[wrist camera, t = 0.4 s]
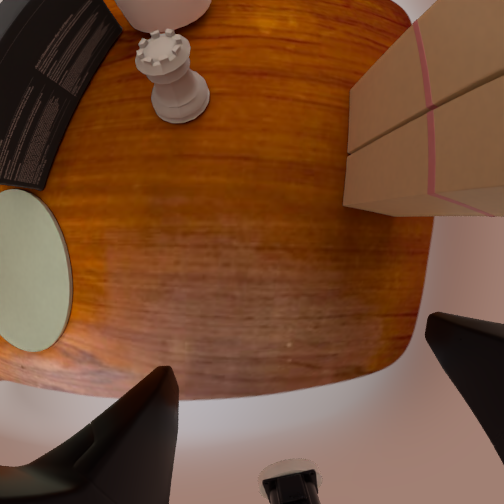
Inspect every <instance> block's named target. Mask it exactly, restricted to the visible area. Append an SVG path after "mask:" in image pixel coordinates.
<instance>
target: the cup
mask: <svg viewBox="0 0 504 504" xmlns="http://www.w3.org/2000/svg"><path fill="white" fill-rule="evenodd" d="M114 1H115V2H116V4H117V5H118V7H119V8H120V10H121V11H122V13H123V15H124V16H125V17H126V19H127V20H128V22H129V23H130V24H131V25H132V26H133V27H134V28H135V29H137V30H139V31H142V32H147V33H151V32H153V31H156V30H159V33H160V32H165V31H166V29H172V30H175V29H178V28H180V27H183V26H186V25H188V24H190V23H192V22H194V21H196V20H197V19H198V18H199V17H201V16H202V15H203V14H204V13H205V12H206V10H207V9H208V8H209V6H210V3H211V0H114Z"/></svg>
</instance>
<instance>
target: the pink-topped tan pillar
mask: <svg viewBox="0 0 504 504" xmlns="http://www.w3.org/2000/svg"><path fill="white" fill-rule="evenodd" d="M343 206H346V207H352V208H357V209H362V210H366V211H371V212H376V213H381V214H385V215H390V216H394V217H404V216H489V217H495V216H501V217H502V216H503V217H504V76H501V77H499V78H497V79H495V80H493V81H491V82H489V83H486V84H484V85H482V86H480V87H478V88H476V89H474V90H472V91H470V92H468V93H466V94H464V95H462V96H460V97H458V98H456V99H454V100H452V101H450V102H448V103H446V104H444V105H442V106H440V107H438V108H436V109H434V110H431V111H429V112H427V113H426V114H424V115H423V116H421V117H419V118H417V119H415V120H413V121H411V122H409V123H407V124H406V125H404V126H402V127H400V128H398V129H396V130H394V131H393V132H391V133H389V134H387V135H385V136H383V137H382V138H380V139H378V140H376V141H374V142H373V143H371V144H369V145H367V146H365V147H364V148H362V149H360V150H358V151H356V152H355V153H353V154H351V155H349V156H348V157H347V165H346V177H345V188H344V197H343Z"/></svg>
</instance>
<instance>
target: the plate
mask: <svg viewBox="0 0 504 504" xmlns="http://www.w3.org/2000/svg"><path fill="white" fill-rule="evenodd" d="M72 294H73V289H72V272H71V265H70V259H69V254H68V250H67V246H66V243H65V240H64V237H63V234H62V232H61V229H60V227H59V225H58V223H57V221H56V219H55V217H54V216H53V214H52V212H51V211H50V210H49V208H48V207H47V205H46V204H45V203H44V202H43V201H42V200H41V199H40V198H38V197H37V196H36V195H34V194H32V193H30V192H28V191H25V190H21V189H10V190H5V191H3V192H1V193H0V335H1V336H2V337H3V338H4V339H5V340H6V341H8V342H9V343H10V344H12V345H13V346H15V347H17V348H19V349H21V350H25V351H30V352H37V351H42V350H44V349H47V348H48V347H50V346H51V345H53V344H54V343H55V342H56V341H57V340H58V339H59V338H60V336H61V335H62V333H63V332H64V330H65V327H66V325H67V323H68V319H69V316H70V311H71V305H72Z"/></svg>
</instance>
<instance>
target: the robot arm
mask: <svg viewBox="0 0 504 504" xmlns="http://www.w3.org/2000/svg"><path fill="white" fill-rule="evenodd" d="M425 338H426V341H427V342H428V344H429V346H430V347H431V349H432V351H433V352H434V354H435V356H436V358H437V359H438V361H439V363H440V364H441V366H442V368H443V369H444V371H445V372H446V374H447V375H448V376H449V378H450V379H451V381H452V382H453V383H454V385H455V386H456V388H457V389H458V391H459V392H460V394H461V395H462V397H463V398H464V400H465V401H466V403H467V404H468V405H469V407H470V409H471V410H472V412H473V413H474V415H475V416H476V418H477V419H478V421H479V423H480V424H481V426H482V427H483V429H484V431H485V432H486V434H487V436H488V437H489V439H490V441H491V442H492V444H493V445H494V448H495V450H496V451H497V453H498V455H499V457H500V458H501V461H502V462H503V464H504V324H500V323H494V322H489V321H484V320H479V319H473V318H468V317H463V316H458V315H453V314H447V313H442V312H435V313H432V314H430V315H429V316H428V319H427V325H426V331H425ZM178 407H179V387H178V384H177V381H176V378H175V375H174V372H173V370H172V368H171V367H170V366H158V367H157V368H156V369H154V370H153V371H152V372H151V373H150V374H149V375H147V376H146V377H145V378H144V379H143V380H141V381H140V382H139V383H138V384H137V385H135V386H134V387H133V388H132V389H131V390H129V391H128V392H127V393H126V394H125V395H123V396H122V397H121V398H120V399H119V400H118V401H116V402H115V403H114V404H113V405H111V406H110V407H109V408H108V409H106V410H105V411H104V412H103V413H102V414H100V415H99V416H98V417H97V418H95V419H94V420H93V421H92V422H91V424H88V425H87V426H85V427H84V428H83V429H82V430H80V431H79V432H78V433H76V434H75V435H74V436H72V437H71V438H70V439H68V440H67V441H65V442H64V443H62V444H61V445H59V446H57V447H56V448H54V449H53V450H51V451H49V452H48V453H46V454H45V455H43V456H41V457H40V458H38V459H36V460H35V461H33V462H31V463H29V464H27V465H24V466H19V467H9V466H0V504H169V496H170V487H171V478H172V471H173V463H174V455H175V447H176V441H177V433H178ZM262 484H263V487H264V489H265V492H266V494H267V497H268V499H269V502H270V504H320V501H319V498H318V495H317V494H318V486H317V477H316V471H315V470H314V469H311V470H307V471H303V472H299V473H294V474H290V475H285V476H280V477H275V478H269V479H264V480H263V481H262Z"/></svg>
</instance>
